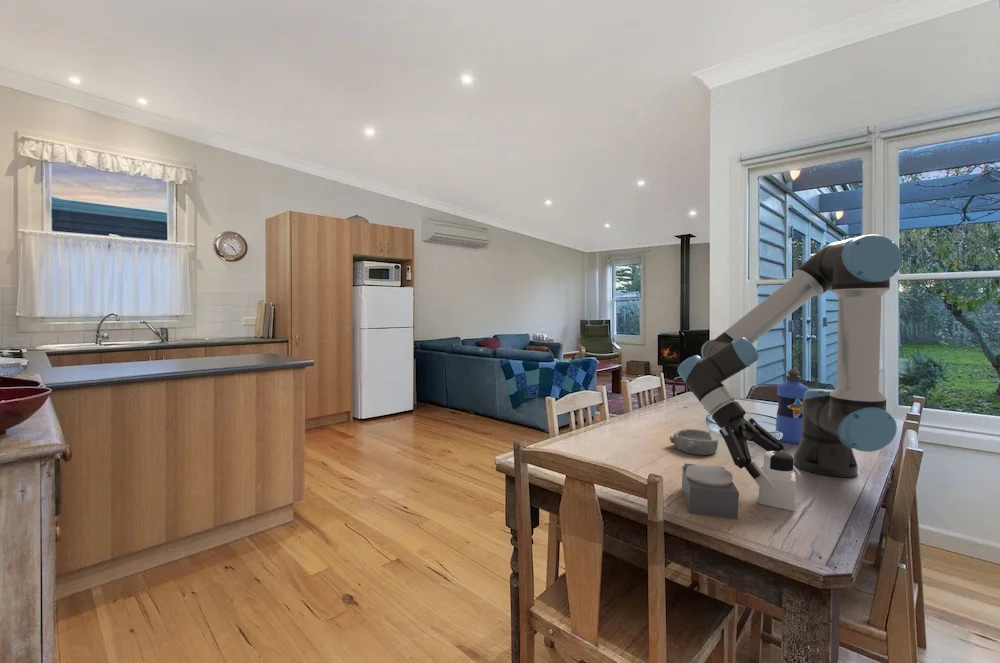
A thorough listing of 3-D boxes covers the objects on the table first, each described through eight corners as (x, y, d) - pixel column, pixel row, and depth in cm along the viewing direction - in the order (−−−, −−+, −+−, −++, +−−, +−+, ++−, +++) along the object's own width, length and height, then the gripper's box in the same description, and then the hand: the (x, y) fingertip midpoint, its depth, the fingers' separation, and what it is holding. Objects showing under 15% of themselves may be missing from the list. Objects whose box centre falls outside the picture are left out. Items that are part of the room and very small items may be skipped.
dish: (701, 442, 157) (702, 427, 156) (728, 455, 143) (729, 439, 143) (663, 444, 154) (663, 429, 154) (686, 457, 140) (687, 441, 140)
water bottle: (812, 444, 154) (816, 371, 152) (785, 444, 154) (788, 371, 153) (795, 436, 163) (798, 367, 162) (769, 436, 163) (772, 367, 162)
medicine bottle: (794, 500, 110) (796, 452, 109) (794, 511, 104) (796, 460, 103) (760, 493, 113) (762, 446, 113) (758, 504, 107) (760, 454, 107)
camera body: (724, 493, 113) (725, 464, 113) (737, 519, 100) (739, 485, 99) (681, 489, 116) (682, 460, 116) (689, 513, 102) (690, 480, 102)
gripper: (737, 410, 128) (793, 479, 116) (686, 422, 113) (744, 503, 102) (757, 394, 123) (818, 464, 112) (707, 406, 109) (770, 488, 97)
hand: (783, 483), depth 107 cm, fingers open, 13 cm apart
